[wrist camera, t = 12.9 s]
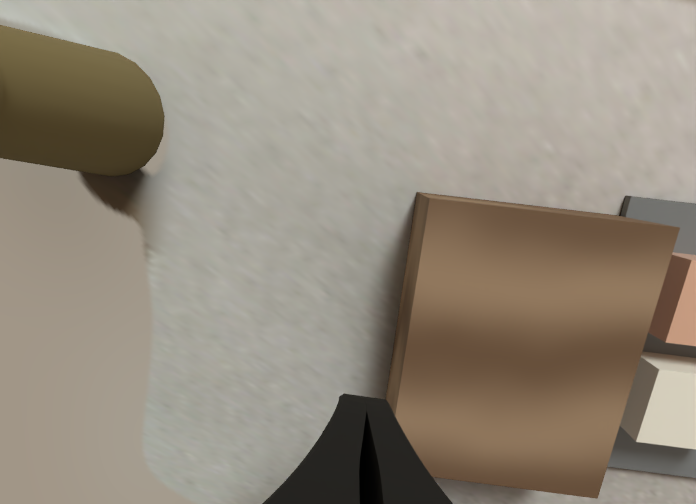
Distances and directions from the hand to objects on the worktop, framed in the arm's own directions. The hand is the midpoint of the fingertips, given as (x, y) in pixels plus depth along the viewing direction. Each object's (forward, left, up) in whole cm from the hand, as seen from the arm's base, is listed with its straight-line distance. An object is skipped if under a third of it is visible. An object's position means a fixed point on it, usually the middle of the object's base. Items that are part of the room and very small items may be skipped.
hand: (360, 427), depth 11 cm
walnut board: (0, -7, -10) cm, 12 cm away
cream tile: (-3, -17, -8) cm, 19 cm away
